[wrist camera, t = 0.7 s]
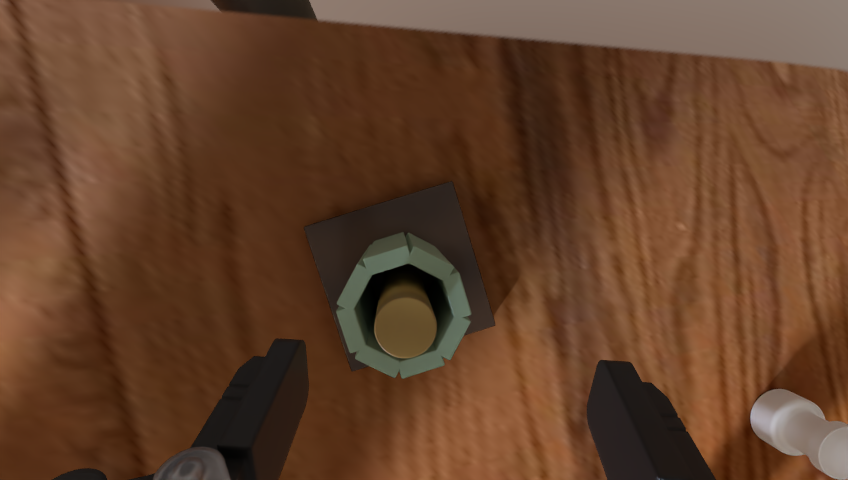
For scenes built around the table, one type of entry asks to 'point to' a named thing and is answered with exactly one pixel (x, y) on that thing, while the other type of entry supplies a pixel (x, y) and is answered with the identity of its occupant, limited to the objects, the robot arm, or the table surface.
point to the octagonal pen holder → (362, 303)
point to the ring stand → (400, 267)
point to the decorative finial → (801, 431)
